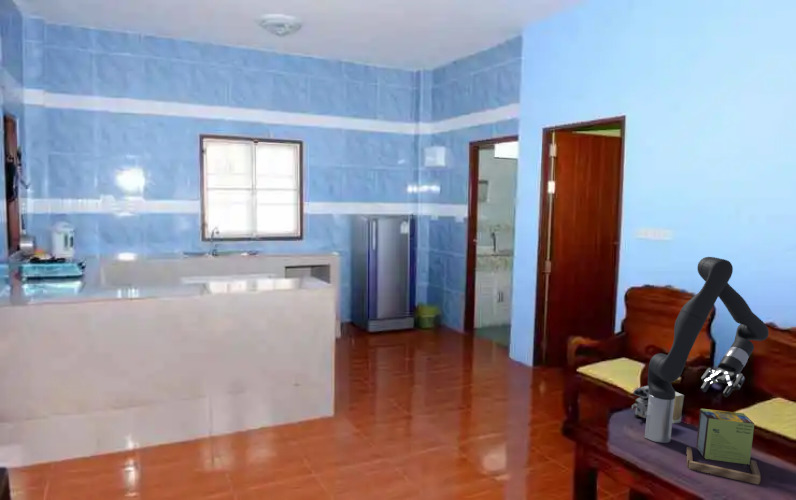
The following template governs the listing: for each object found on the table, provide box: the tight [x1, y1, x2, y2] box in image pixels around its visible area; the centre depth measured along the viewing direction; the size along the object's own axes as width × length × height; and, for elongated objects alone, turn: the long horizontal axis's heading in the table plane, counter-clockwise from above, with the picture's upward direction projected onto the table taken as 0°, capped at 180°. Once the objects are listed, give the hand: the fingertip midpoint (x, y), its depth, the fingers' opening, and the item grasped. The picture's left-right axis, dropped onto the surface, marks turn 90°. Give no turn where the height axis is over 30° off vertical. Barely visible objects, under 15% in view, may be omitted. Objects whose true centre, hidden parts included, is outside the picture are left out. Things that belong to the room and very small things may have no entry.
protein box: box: [695, 408, 755, 465], centre depth 213 cm, size 10×15×16 cm
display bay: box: [686, 446, 762, 485], centre depth 203 cm, size 22×14×2 cm, turn 65°
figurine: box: [631, 384, 649, 419], centre depth 243 cm, size 9×12×15 cm
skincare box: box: [672, 391, 685, 424], centre depth 246 cm, size 6×4×12 cm
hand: (713, 393), depth 216 cm, fingers open, 8 cm apart
